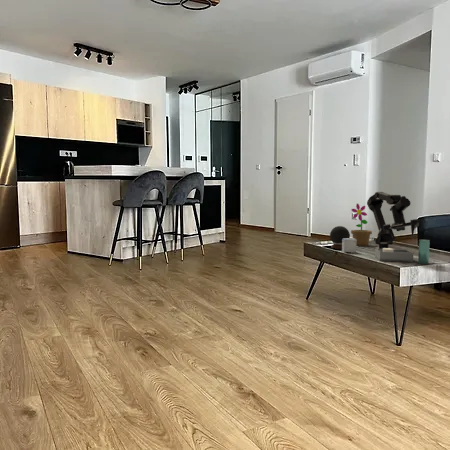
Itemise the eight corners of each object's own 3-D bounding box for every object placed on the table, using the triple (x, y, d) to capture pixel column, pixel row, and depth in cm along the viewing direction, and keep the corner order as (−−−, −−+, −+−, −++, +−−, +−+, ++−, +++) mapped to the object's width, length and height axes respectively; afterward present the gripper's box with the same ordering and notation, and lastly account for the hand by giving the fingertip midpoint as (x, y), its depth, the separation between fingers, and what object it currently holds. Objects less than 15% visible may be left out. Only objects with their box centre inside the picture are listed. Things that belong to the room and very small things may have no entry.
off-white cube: (382, 256, 243) (382, 248, 242) (391, 256, 242) (391, 248, 241) (384, 258, 238) (384, 249, 237) (393, 258, 237) (393, 249, 236)
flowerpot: (346, 244, 303) (347, 203, 301) (357, 243, 313) (358, 202, 310) (364, 246, 292) (366, 203, 290) (375, 245, 302) (376, 203, 300)
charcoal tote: (375, 257, 247) (375, 248, 247) (406, 257, 244) (407, 249, 244) (379, 260, 234) (380, 251, 234) (413, 261, 231) (413, 252, 231)
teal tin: (416, 262, 230) (417, 239, 229) (426, 262, 229) (427, 239, 228) (419, 263, 225) (420, 240, 224) (429, 264, 224) (430, 240, 223)
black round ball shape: (353, 248, 284) (354, 226, 283) (341, 249, 277) (341, 227, 275) (337, 246, 295) (338, 224, 294) (325, 247, 287) (326, 225, 286)
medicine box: (353, 251, 269) (354, 238, 268) (356, 252, 264) (356, 239, 264) (341, 251, 269) (342, 238, 268) (343, 252, 264) (344, 239, 263)
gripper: (415, 216, 245) (421, 241, 238) (381, 222, 251) (387, 247, 244) (415, 209, 235) (422, 234, 229) (380, 215, 241) (386, 240, 235)
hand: (404, 239), depth 234 cm, fingers open, 9 cm apart
